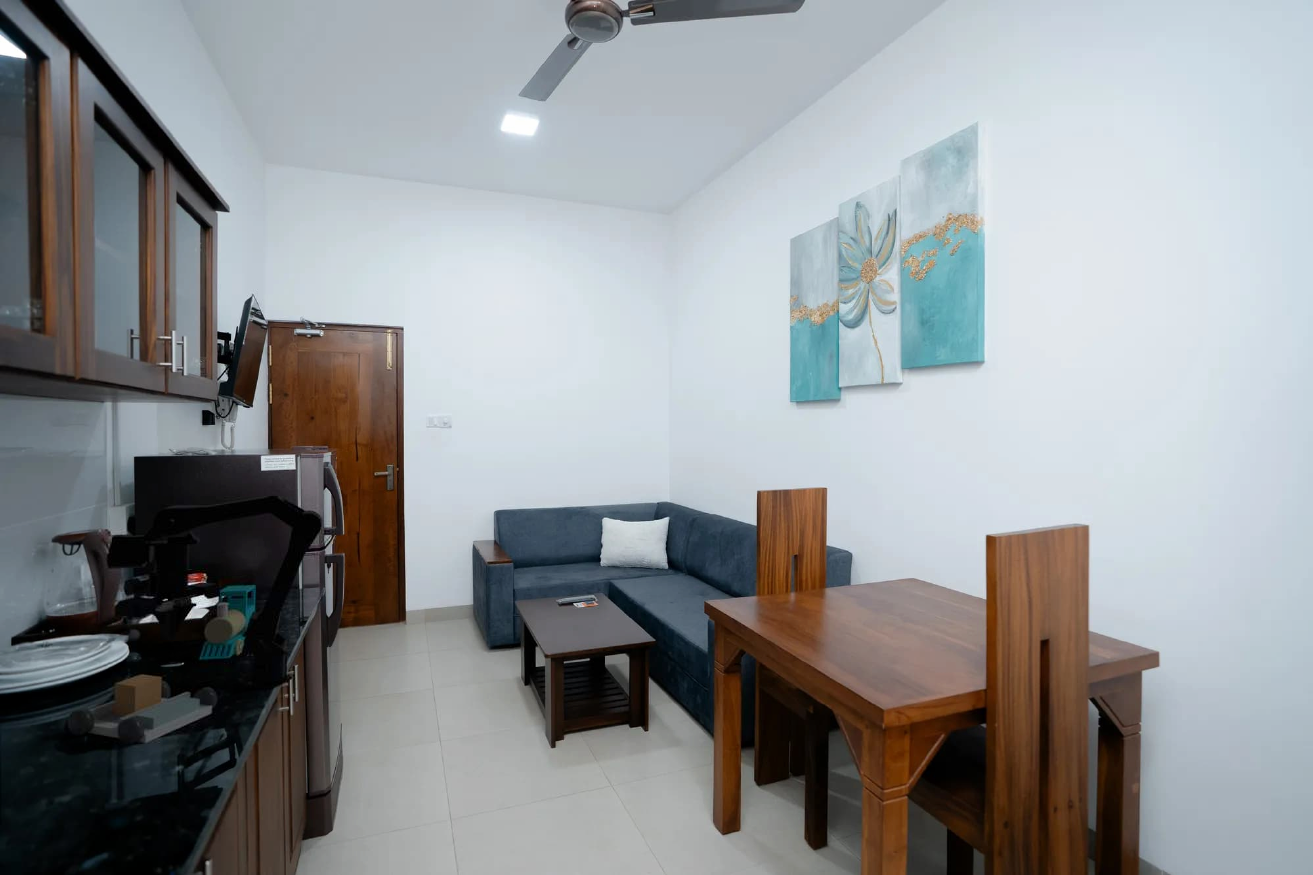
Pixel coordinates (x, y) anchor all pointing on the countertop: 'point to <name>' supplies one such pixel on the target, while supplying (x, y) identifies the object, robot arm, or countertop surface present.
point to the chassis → (144, 716)
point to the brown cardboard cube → (137, 694)
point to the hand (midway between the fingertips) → (169, 639)
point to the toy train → (229, 623)
